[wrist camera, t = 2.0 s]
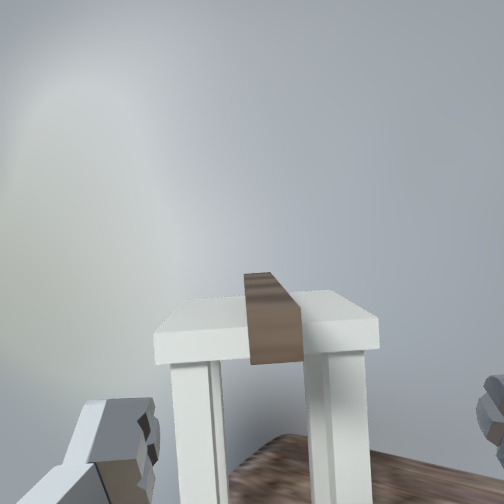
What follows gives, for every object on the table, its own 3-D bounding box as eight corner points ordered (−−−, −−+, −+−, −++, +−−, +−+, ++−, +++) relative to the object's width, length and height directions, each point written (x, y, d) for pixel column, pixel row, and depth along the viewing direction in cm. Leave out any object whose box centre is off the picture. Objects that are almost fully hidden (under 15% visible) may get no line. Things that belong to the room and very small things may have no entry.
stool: (200, 538, 52) (183, 299, 51) (343, 526, 53) (329, 289, 52) (179, 696, 34) (152, 333, 33) (397, 676, 35) (378, 317, 34)
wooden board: (245, 300, 47) (243, 273, 47) (271, 298, 47) (270, 272, 47) (250, 365, 23) (247, 311, 23) (304, 361, 23) (300, 308, 23)
